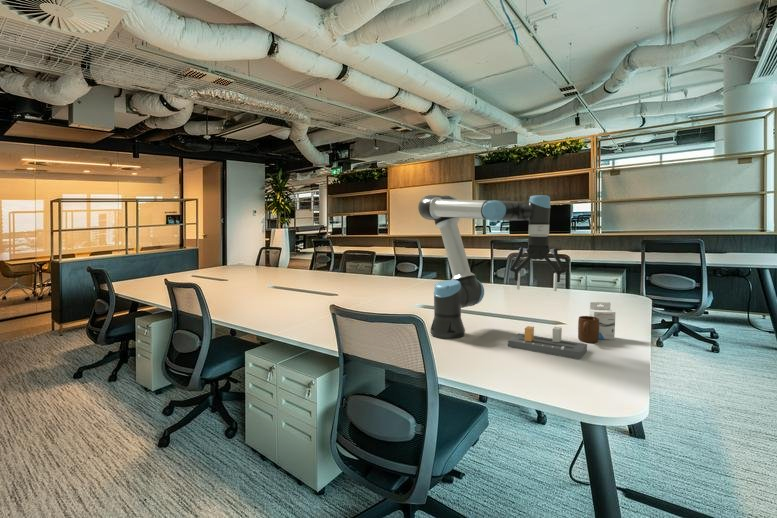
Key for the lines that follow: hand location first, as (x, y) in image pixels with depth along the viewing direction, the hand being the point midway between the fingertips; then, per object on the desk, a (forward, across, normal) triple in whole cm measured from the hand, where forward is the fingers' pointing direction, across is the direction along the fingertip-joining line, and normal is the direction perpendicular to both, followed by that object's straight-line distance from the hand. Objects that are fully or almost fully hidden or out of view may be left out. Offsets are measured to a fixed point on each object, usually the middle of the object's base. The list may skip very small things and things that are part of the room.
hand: (536, 289), depth 151 cm
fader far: (+19, +8, -3) cm, 21 cm away
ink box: (+22, +28, +14) cm, 39 cm away
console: (+22, +4, -4) cm, 23 cm away
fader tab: (+19, -2, -4) cm, 20 cm away
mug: (+22, +21, +8) cm, 32 cm away
